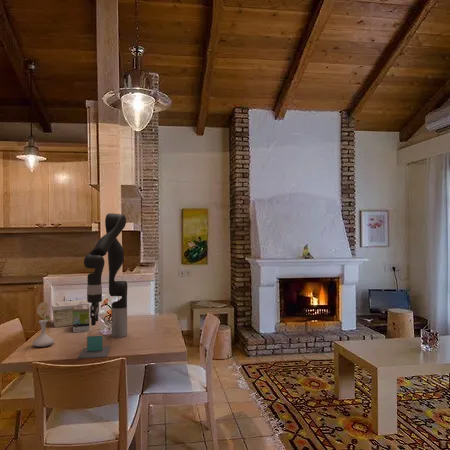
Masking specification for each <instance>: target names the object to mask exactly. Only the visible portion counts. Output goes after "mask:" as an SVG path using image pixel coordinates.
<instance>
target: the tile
mask: <svg viewBox="0 0 450 450" xmlns="http://www.w3.org/2000/svg"><path fill="white" fill-rule="evenodd" d="M86 337H87V338H86V347H87V351H102V350H103V346H104V334H89V335H87V336H86Z"/></svg>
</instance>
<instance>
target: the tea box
mask: <svg viewBox="0 0 450 450" xmlns="http://www.w3.org/2000/svg"><path fill="white" fill-rule="evenodd" d="M89 331H90V305H89V306H88V305H77V306H73V325H72V332H73V333H85V332H89Z"/></svg>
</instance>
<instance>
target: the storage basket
mask: <svg viewBox="0 0 450 450" xmlns="http://www.w3.org/2000/svg"><path fill="white" fill-rule="evenodd" d="M77 305H88V306H89V307H90V303H89V302H87V299H79V300H77V299H76V300H70V301H69V300H68V301H67V300H66V301H53V302H51V304H50V306H51V307H50V308H51V310H52V320H53V323H52V324H53V326H54V328H62V327H70V326H73V306H77Z"/></svg>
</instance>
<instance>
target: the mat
mask: <svg viewBox="0 0 450 450" xmlns="http://www.w3.org/2000/svg"><path fill="white" fill-rule="evenodd" d="M110 348H111V346H110V345H108V346H107V345H105V346H104V345H103V350H102V351H87V346H85V347H83V348H82V349H81V352H80V353H79V354H78V357H77V360H81V359H98V358H99V359H102V358H107V357H108V355H109V351H110Z"/></svg>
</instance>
